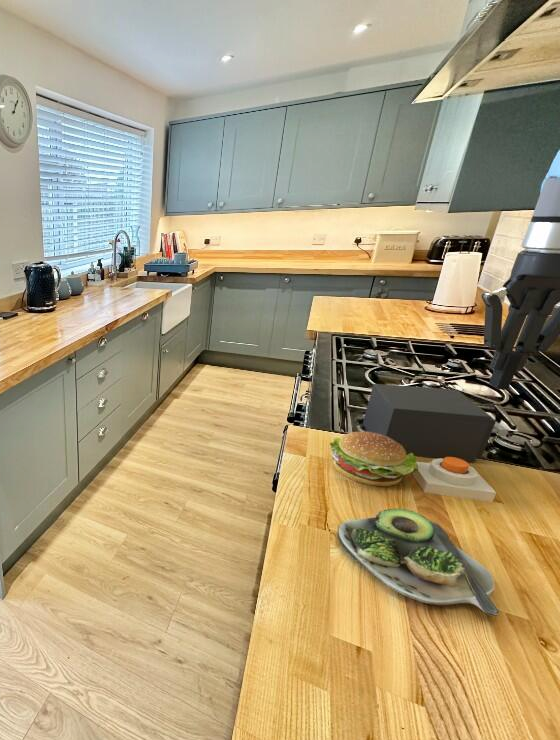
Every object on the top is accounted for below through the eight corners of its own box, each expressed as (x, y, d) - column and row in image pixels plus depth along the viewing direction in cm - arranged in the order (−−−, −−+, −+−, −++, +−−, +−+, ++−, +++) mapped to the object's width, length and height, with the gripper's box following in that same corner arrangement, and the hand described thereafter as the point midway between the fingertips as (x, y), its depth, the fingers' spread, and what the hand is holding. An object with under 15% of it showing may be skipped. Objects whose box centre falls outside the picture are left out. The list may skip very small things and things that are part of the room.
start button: (460, 465, 81) (463, 458, 80) (470, 476, 78) (473, 468, 77) (437, 463, 82) (440, 455, 81) (445, 473, 79) (448, 465, 78)
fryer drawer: (475, 432, 96) (488, 397, 93) (508, 462, 85) (524, 423, 82) (376, 422, 103) (385, 389, 99) (395, 448, 92) (406, 412, 88)
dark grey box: (442, 431, 99) (457, 389, 95) (473, 463, 87) (492, 416, 83) (362, 423, 105) (373, 383, 100) (381, 452, 93) (394, 408, 88)
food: (335, 486, 83) (344, 452, 80) (321, 450, 95) (328, 419, 92) (421, 499, 78) (434, 463, 75) (394, 459, 90) (404, 426, 87)
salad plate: (547, 616, 55) (562, 591, 54) (422, 633, 54) (433, 608, 53) (416, 519, 73) (423, 497, 72) (320, 530, 72) (325, 508, 70)
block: (469, 477, 83) (476, 460, 81) (492, 502, 76) (500, 484, 75) (408, 469, 86) (413, 453, 85) (424, 492, 80) (430, 475, 78)
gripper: (513, 253, 65) (462, 390, 74) (632, 252, 60) (561, 399, 69) (487, 248, 71) (443, 375, 80) (593, 247, 67) (533, 382, 76)
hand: (498, 386), depth 75 cm, fingers closed
